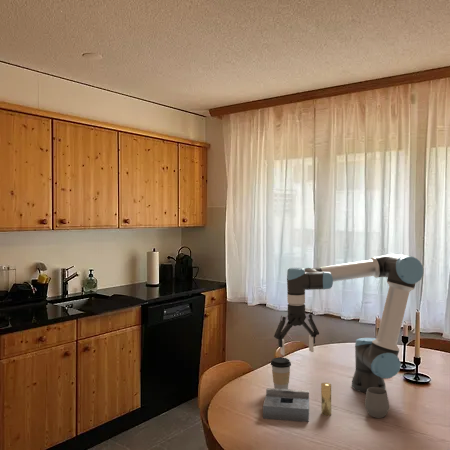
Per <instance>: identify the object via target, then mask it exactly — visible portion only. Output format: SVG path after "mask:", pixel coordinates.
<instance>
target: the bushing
mask: <svg viewBox="0 0 450 450" xmlns="http://www.w3.org/2000/svg"><path fill="white" fill-rule="evenodd" d="M320 390H321V391H320V392H321V393H320V395H321V396H320V397H321V399H320V401H321V402H320V405H321V408H320V410H321V413H320V414H321V415H323V416H326V417H327V416H328V417H329V416H331V415H332V384H331V383H329V382H321V385H320Z"/></svg>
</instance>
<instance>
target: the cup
mask: <svg viewBox="0 0 450 450" xmlns="http://www.w3.org/2000/svg"><path fill="white" fill-rule="evenodd" d="M388 398H389V397H388V391H387V390H386V389H382V388H378V387H371V388H368V389H367V392H366V394H365V400H364V407H365V410H366V411H367V413H368V415H369V416H370V417H373V418H378V419H381V418H385V417H386V415H387V413H388V411H389V410H390V404H389V403H390V402H389V399H388Z"/></svg>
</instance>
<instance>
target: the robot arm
mask: <svg viewBox="0 0 450 450" xmlns="http://www.w3.org/2000/svg"><path fill="white" fill-rule="evenodd" d="M286 273H287V274H286V284H287V285H286V286H287V291H286V292H287V294H286V295H287V296H286V297H287V303H288V304H287V315H286V316H285V315H281V316H280V321H279V323H278V325H277V327H276V331H275V332H274V335H273V337H274V338H275V339H276V340H278V341H277V345H278V347H279V348H280V355H282V356H285V353H286V352H285V339H284V338H285V337H286V336H287V334H288V332H289V331H290V329H291V328H292V327H297V326H302V327H303V328H304V329H305V330H306V331H307V332H308V333H309V335H308V350H309V352H311V353H315V352H314V351H315V349H314V344H315V343H316V337H317V335H319V334H320V332H319V330H318V328H317V325H316V323H315V321H314V319H313V314H311V313H307V314H306V305H305V304H306V291H308V290H311V291H312V290H315V291H316V290H323V291H324V290H328V289H329V290H330V289H332V287H333V284H334V282H335V283H336V282H339V281H346V280H354V279H355V280H356V279H362V278H368V277H374V278H376V279H377V278H386V279H387V280H386V283H387V284H388V286H389V287H388V290H387V295H386V298H385V299H386V300H385V303H384V306H383V311H382V315H381V320H380V323H379V327H378V330H377V331H378V332H377V335H376V336H377V337H376V338H375V337H362V338H361V337H360V338H356V339H355V344H354V349H355V350H354V351H355V354H354V355H355V356H354V357H355V369H354V370H355V371H354V374H353V376H352V379H351V387H352V388H353V389H354V390H355V391H357V392H361V393H366V392H367V389H368V388H371V387H378V388H382V389H385V390H386V382H385V379H391V378H393V377H395V376H396V375H397V374H398V373H399V372H400V369H401V365H402V363H401V360H400V358H399V353H400V348H399V346H398V340H399V336H400V332H401V328H402V324H403V320H404V315H405V311H406V308H407V304H408V300H409V296H410V293H411V291H413V290H415V287H416V284H417V283H418V282H419V281H421V280H422V278H423V276H424V267H423V265H422V263H421V261H420V260H419V259H418V258H416V257H415V256H411V255H408V254H400V253H390V254H384V255H380V256H373V257H371V258H370V259H368V260H361V261H354V262H347V263H340V264H333V265H327V266H320V267H313V268H311V267H304V268H303V267H290V268H288V269H287V272H286ZM305 320H307V321H308V324H309V325H310V326H308V324H307V322H306V321H305ZM286 322H287V323H286ZM285 324H286V325H285ZM310 327H311V328H310Z"/></svg>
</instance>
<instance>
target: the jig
mask: <svg viewBox="0 0 450 450" xmlns="http://www.w3.org/2000/svg"><path fill="white" fill-rule="evenodd" d="M265 390H266V391H265V398H264V401H263V405H262V419H267V420H268V419H269V420H279V421H280V420H281V421H282V420H283V421H291V422H292V421H293V422H305V423H309V422H310V419H309V418H310V390H303V389H292V388H291V389H289V388H288V389H276V388H274V387H266V389H265Z"/></svg>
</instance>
